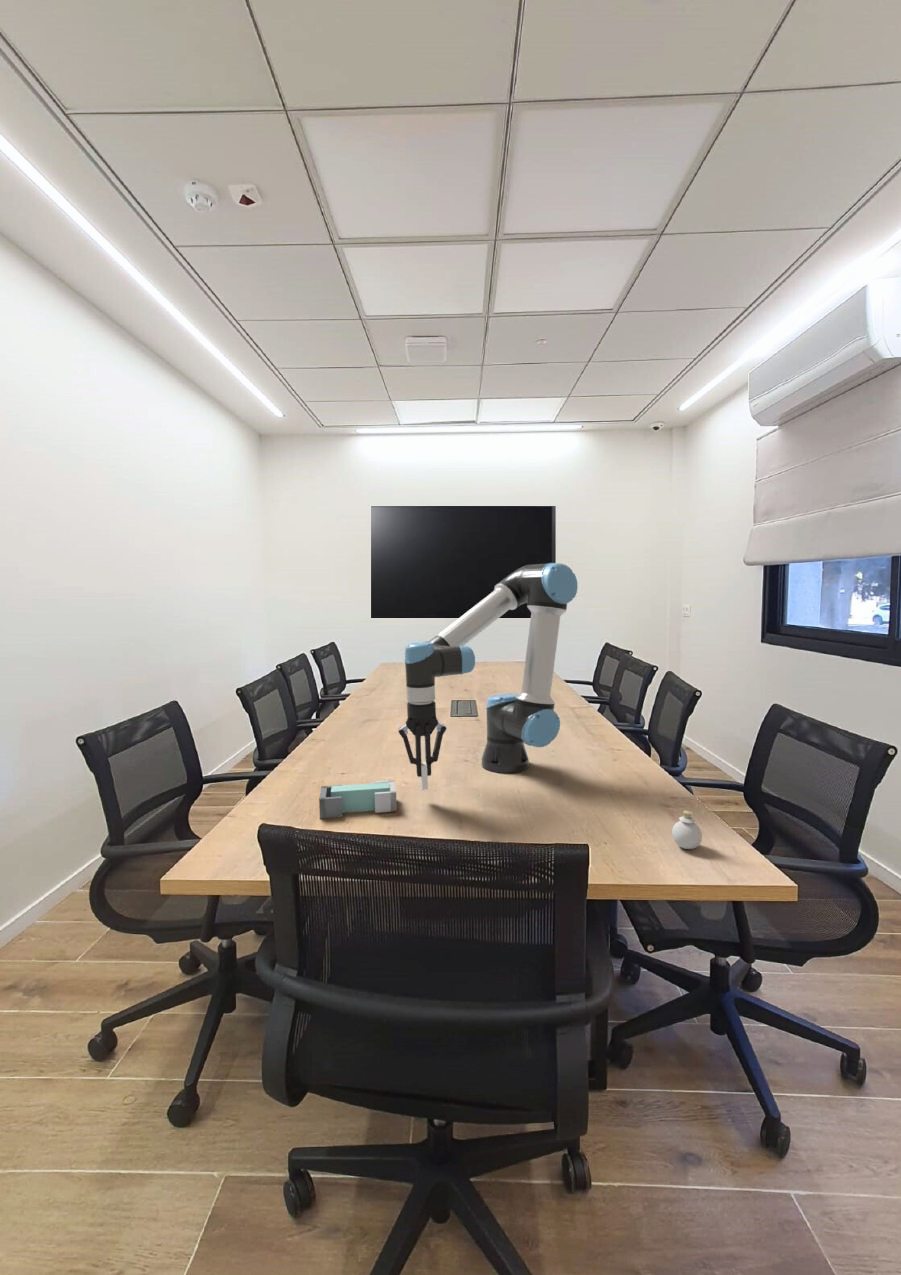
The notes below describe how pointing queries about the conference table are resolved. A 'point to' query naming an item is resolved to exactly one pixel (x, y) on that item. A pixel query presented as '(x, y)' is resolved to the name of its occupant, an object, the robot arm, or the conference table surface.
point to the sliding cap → (386, 798)
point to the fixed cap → (329, 803)
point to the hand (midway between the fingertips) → (424, 787)
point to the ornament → (687, 831)
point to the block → (359, 796)
